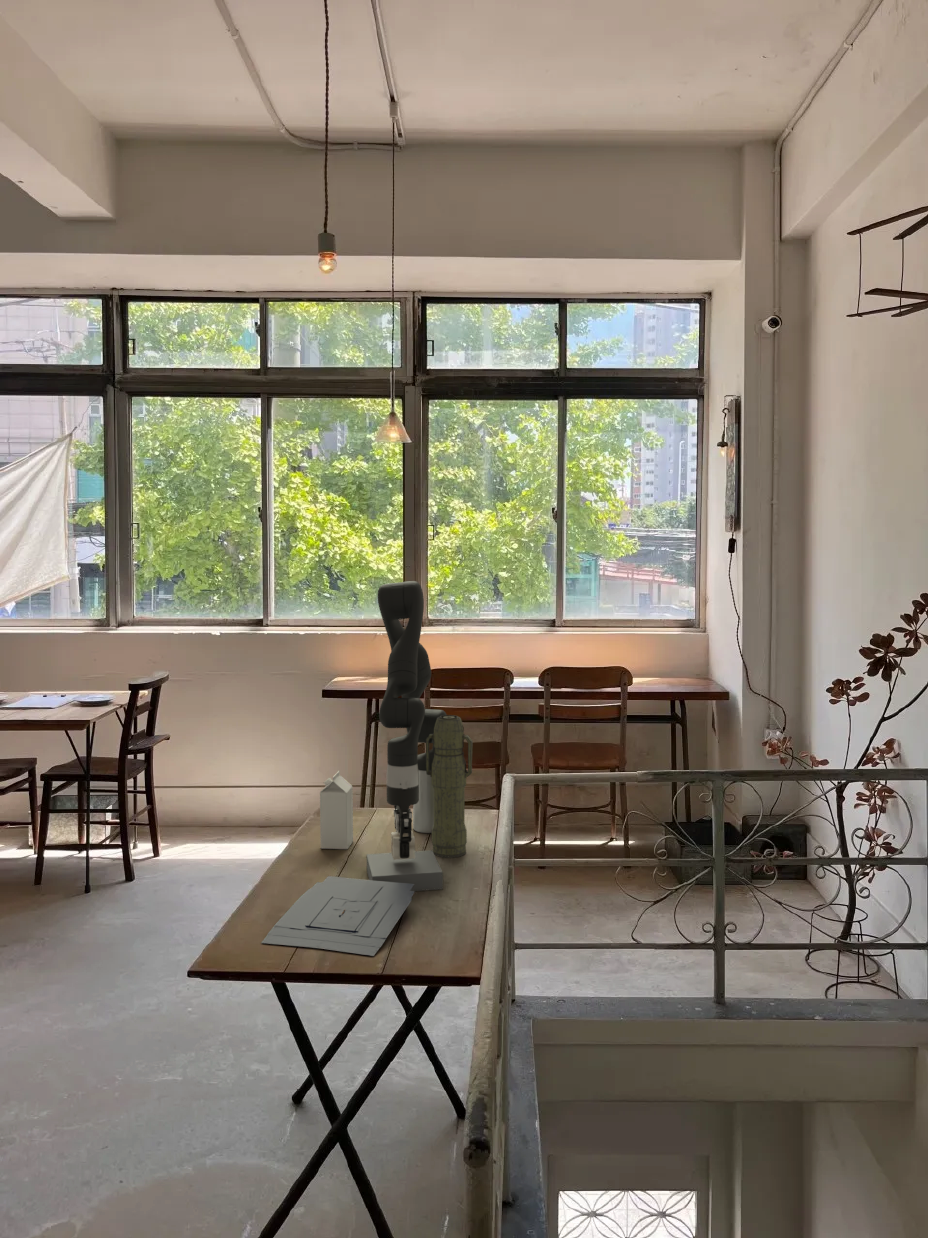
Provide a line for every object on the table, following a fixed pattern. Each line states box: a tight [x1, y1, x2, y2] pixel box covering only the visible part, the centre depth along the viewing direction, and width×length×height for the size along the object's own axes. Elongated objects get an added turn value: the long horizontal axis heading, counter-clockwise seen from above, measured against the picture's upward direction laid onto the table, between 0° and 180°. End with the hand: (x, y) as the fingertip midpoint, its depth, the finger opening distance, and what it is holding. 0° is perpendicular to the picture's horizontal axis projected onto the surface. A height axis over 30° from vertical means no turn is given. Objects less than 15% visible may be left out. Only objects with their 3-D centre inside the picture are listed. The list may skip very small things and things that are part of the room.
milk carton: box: [319, 770, 354, 850], centre depth 256 cm, size 7×7×19 cm
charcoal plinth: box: [366, 849, 444, 892], centre depth 231 cm, size 16×16×4 cm
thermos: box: [425, 714, 474, 859], centre depth 250 cm, size 9×12×35 cm
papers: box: [261, 875, 416, 957], centre depth 206 cm, size 24×30×4 cm
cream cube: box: [390, 830, 416, 860], centre depth 230 cm, size 5×5×5 cm
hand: (403, 853), depth 231 cm, fingers closed on cream cube, 5 cm apart
